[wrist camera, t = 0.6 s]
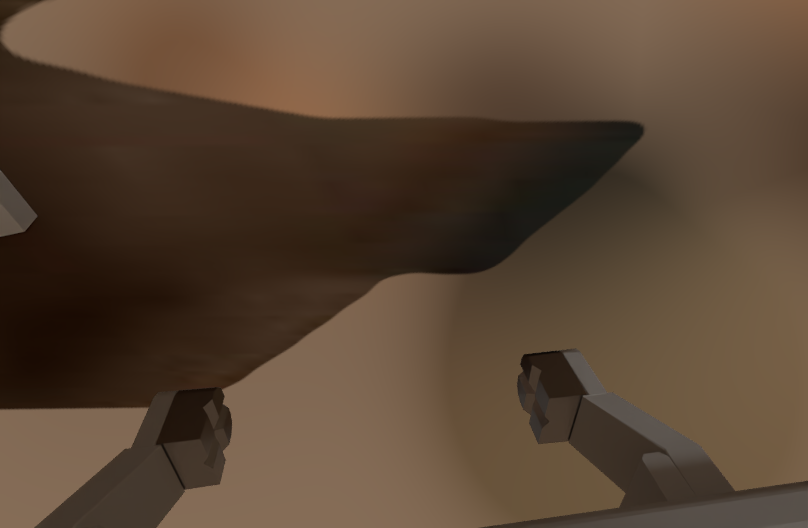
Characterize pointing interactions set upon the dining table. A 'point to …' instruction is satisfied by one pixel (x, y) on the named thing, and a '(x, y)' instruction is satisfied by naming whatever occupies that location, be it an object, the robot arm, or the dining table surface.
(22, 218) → the console
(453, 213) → the dining table surface
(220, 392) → the robot arm
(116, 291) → the dining table surface
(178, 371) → the dining table surface
